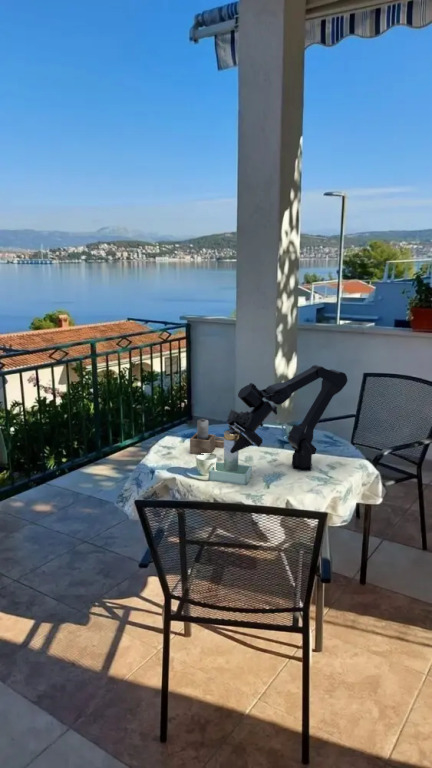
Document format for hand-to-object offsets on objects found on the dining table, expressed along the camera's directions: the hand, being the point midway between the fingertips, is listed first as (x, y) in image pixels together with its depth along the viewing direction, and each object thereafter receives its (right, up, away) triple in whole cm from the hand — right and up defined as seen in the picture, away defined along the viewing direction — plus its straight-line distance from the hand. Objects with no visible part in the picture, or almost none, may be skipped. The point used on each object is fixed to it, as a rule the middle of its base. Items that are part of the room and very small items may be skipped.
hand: (227, 449), depth 170 cm
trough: (+1, -10, +3) cm, 11 cm away
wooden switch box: (-4, -3, +36) cm, 36 cm away
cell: (+1, -7, +2) cm, 7 cm away
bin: (-9, -4, +28) cm, 30 cm away
